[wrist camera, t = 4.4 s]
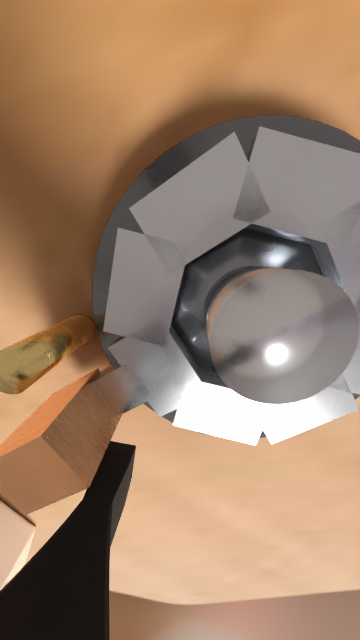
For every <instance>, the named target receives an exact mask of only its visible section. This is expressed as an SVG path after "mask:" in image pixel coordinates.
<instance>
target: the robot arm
mask: <svg viewBox="0 0 360 640" xmlns="http://www.w3.org/2000/svg"><path fill="white" fill-rule="evenodd" d="M135 449H136V446H134V445H129V444H122V443H118V442H113V441H110V442H109V444H108V447H107V449H106V451H105V453H104V456H103V458H102V460H101V462H100V465H99V467H98V469H97V471H96V474H95V476H94V478H93V480H92V483H91V485H90V487H89V488H87V490H86V493H85V495H84V498H83V500H82V501H81V502H80V503H79V505H78V506H77V507H76V508H75V510H74V511H73V512H72V513H71V515H70V516H69V517H68V518H67V519H66V521H65V522H64V523H63V524H62V525H61V526H60V528H59V529H58V530H57V531H56V532H55V533H54V534H53V536H52V537H51V538H50V539H49V540H48V541H47V542H46V543H45V544H44V546H43V547H42V548H41V549H40V550H39V551H38V552H37V553H36V554H35V555H34V556H33V557H32V558H31V560H30V561H29V562H28V563H27V564H26V565H25V566H24V567H23V568H22V569H21V570H20V571H19V572H18V573H17V574H16V575H15V576H14V577H13V578H12V579H11V580H10V581H9V582H8V583H7V584H6V585H5V586H4V587H3V588H2V590H0V640H109V560H110V546H111V544H112V541H113V538H114V535H115V532H116V529H117V526H118V523H119V520H120V517H121V514H122V511H123V508H124V505H125V501H126V497H127V493H128V490H129V486H130V482H131V478H132V471H133V463H134V456H135Z"/></svg>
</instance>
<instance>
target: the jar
mask: <svg viewBox="0 0 360 640" xmlns="http://www.w3.org/2000/svg"><path fill="white" fill-rule="evenodd" d="M34 533H35V526H33V525H32V524H31V523H29V522H28V521H27V520H26V519H24V518H23V517H22V516H20V515H19V514H18V513H16V512H15V511H14V510H12V509H11V508H10V507H9V506H7V505H6V504H5V503H3V502H2V501H1V500H0V590H2V588H3V587H4V586H5V585H6V584H7V583H8V582H9V581H10V580H11V579H12V578H13V577H14V576H15V575H16V574H17V573H18V572H19V571H20V570H21V568H22V567H23V565H24V563H25V561H26V559H27V556H28V553H29V549H30V546H31V543H32V540H33V536H34Z"/></svg>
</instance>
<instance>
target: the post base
mask: <svg viewBox="0 0 360 640" xmlns="http://www.w3.org/2000/svg"><path fill="white" fill-rule="evenodd" d="M259 126H260V127H264V128H268V129H271V130H275V131H279V132H282V133H286V134H290V135H294V136H297V137H301V138H305V139H308V140H312V141H316V142H319V143H323V144H327V145H330V146H334V147H338V148H341V149H345V150H349V151H352V152H356V153H360V141H359V140H358V139H356V138H354V137H353V136H351V135H349V134H348V133H346V132H344V131H342V130H340V129H337V128H334V127H332V126H329V125H327V124H324V123H321V122H318V121H313V120H308V119H303V118H299V117H294V116H268V115H265V116H257V117H249V118H241V119H236V120H233V121H229V122H226V123H222V124H219V125H215V126H212V127H210V128H208V129H205V130H203V131H201V132H199V133H197V134H194V135H192V136H190V137H188V138H186V139H185V140H183V141H182V142H180V143H178V144H177V145H175V146H174V147H172V148H171V149H169V150H167V151H166V152H165V153H163V154H162V155H161V156H160V157H159V158H158V159H156V160H155V161H154V162H153V163H152V164H151V165H149V166H148V167H147V168H146V169H145V170H144V171H143V172H142V173H141V174H140V176H139V177H138V178H137V179H136V180H135V181H134V182H133V183H132V185H131V186H130V187H129V188H128V190H127V191H126V193H125V194H124V196H123V197H122V199H121V200H120V202H119V203H118V204H117V206H116V207H115V209H114V211H113V213H112V215H111V218H110V220H109V222H108V224H107V226H106V228H105V230H104V233H103V236H102V239H101V242H100V245H99V248H98V251H97V256H96V261H95V266H94V272H93V287H92V296H93V311H94V317H95V322H96V327H97V331H98V334H99V337H100V340H101V343H102V346H103V349H104V351H105V353H106V355H107V357H108V359H109V361H110V363H111V365H113V364H115V363H117V362H118V361H117V360H116V359H115V357H114V356H113V355H112V353H111V352H110V351H109V349H108V347H109V346H110V345H111V344H112V343H113V342H114V341H115V339H117V338H118V337H120V335H116V334H112V333H108V332H104V331H103V328H104V321H105V314H106V307H107V300H108V293H109V286H110V279H111V272H112V265H113V258H114V251H115V244H116V237H117V230H118V228H121V229H125V230H129V231H133V232H137V233H141V234H144V233H143V231H142V229H141V228H140V226H139V224H138V223H137V221H136V219H135V218H134V216H133V214H132V213H131V211H130V209H129V208H130V207H132V206H133V205H134V204H136V203H137V202H138V201H140V200H141V199H143V198H144V197H145V196H147V195H148V194H149V193H151V192H152V191H154V190H155V189H156V188H158V187H159V186H160V185H162V184H163V183H165V182H166V181H167V180H169V179H170V178H171V177H173V176H174V175H176V174H177V173H178V172H180V171H181V170H182V169H184V168H185V167H186V166H188V165H189V164H191V163H192V162H193V161H195V160H196V159H197V158H199V157H200V156H202V155H203V154H204V153H206V152H207V151H208V150H210V149H211V148H213V147H214V146H215V145H217V144H218V143H219V142H221V141H222V140H224V139H225V138H226V137H228V136H229V135H230V134H232V133H233V132H235V133H236V136H237V138H238V140H239V142H240V145H241V147H242V149H243V151H244V154H245V156H246V157H247V154H248V150H249V147H250V144H251V142H252V140H253V138H254V136H255V134H256V132H257V130H258V128H259ZM171 325H172V326H173V328H174V330H175V331H176V333H177V334H178V336H179V337H180V339H181V340H182V342H183V344H184V345H185V347H186V348H187V350H188V351H189V353H190V354H191V356H192V358H193V359H194V361H195V362H196V364H197V365H198V367H199V369H200V370H203V371H207V372H211V373H215V374H218V375H219V377H220V378H221V379H222V381H223V382H224V383H225V384H226V385H227V386H228V387H229V388H230V389H231V390H233V391H234V392H235V393H237V394H239V395H240V396H242V397H244V398H246V399H249V400H252V401H255V402H259V403H264V404H287V403H293V402H297V401H301V400H304V399H307V398H309V397H311V396H314V395H316V394H318V393H319V392H321V391H323V390H324V389H326V388H327V387H328V386H330V385H331V384H332V383H333V382H334V381H335V380H336V379H337V378H339V376H340V375H341V374H342V373H343V372H344V370H345V369H346V368H347V366H348V365H349V363H350V361H351V359H352V357H353V355H354V353H355V350H356V347H357V343H358V337H359V322H358V316H357V313H356V309H355V307H354V305H353V303H352V301H351V299H350V298H349V296H348V295H347V294H346V292H345V291H344V290H343V289H342V288H341V287H340V286H338V285H337V284H336V283H334V282H333V281H332V280H330V279H328V278H326V277H324V276H323V274H322V271H321V269H320V266H319V264H318V262H317V259H316V257H315V255H314V252H313V250H312V247H311V245H309V244H305V243H302V242H298V241H294V240H290V239H286V238H282V237H279V236H275V235H271V234H267V233H263V232H259V231H256V230H252V229H248V228H244V229H242V230H240V231H239V232H237V233H236V234H234V235H232V236H231V237H229V238H228V239H226V240H224V241H223V242H221V243H219V244H218V245H216V246H215V247H213V248H211V249H210V250H208V251H207V252H205V253H203V254H202V255H200V256H199V257H197V258H195V259H194V260H192V261H191V262H189V263H187V264H186V265H185V269H184V273H183V277H182V281H181V285H180V289H179V293H178V298H177V302H176V306H175V310H174V314H173V318H172V322H171ZM352 395H353V397H354V399H356V398H358V397H359V396H360V395H359V394H355V393H352ZM144 404H145V405H146V406H147V407H149V408H150V409H152V410H153V408H152V407H151V406H150V404H149V403H148V402H145V403H144ZM153 411H154V410H153ZM154 412H155V411H154ZM173 416H174V411H172V412H169V413H167V414H165V415H163V416H162V417H164V418H166V419H167V420H169V421H171V422H173ZM196 432H197V431H196ZM199 433H202V432H199ZM202 434H206V433H202ZM207 435H210V434H207ZM212 436H214V435H212ZM217 437H218V436H217ZM262 437H267V436H266V434H265V432H264V431H263V430H262V432H261V434H260V436H259V438H262Z"/></svg>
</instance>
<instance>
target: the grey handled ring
mask: <svg viewBox="0 0 360 640" xmlns="http://www.w3.org/2000/svg"><path fill="white" fill-rule="evenodd" d="M129 209H130V211H131V213H132V214H133V216H134V218H135V219H136V221H137V223H138V224H139V226H140V228H141V229H142V231H143V233H144V234H141V233H137V232H133V231H129V230H125V229H121V228H118V230H117V237H116V244H115V251H114V258H113V265H112V272H111V279H110V286H109V293H108V300H107V307H106V314H105V321H104V328H103V331H104V332H108V333H112V334H116V335H120V337H118V338H117V339H115V341H114V342H113V343H112V344H111V345H110V346H109V347H108V349H109V351H110V352H111V353H112V355H113V356H114V357H115V359H116V360H117V361H118V362H117V363H115V364H113V365H111V366H110V367H108V368H106V369H104V370H102V371H101V372H100V371H99V369H96V370H94V371H92V372H91V373H89V374H87V375H85V376H84V377H82V378H80V379H78V380H77V381H75V382H73V383H71V384H70V385H68V386H66V387H64V388H62V389H61V390H59V391H57V392H55V393H54V394H52V395H51V396H50V397H49V398H48V399H47V400H46V401H45V402H44V403H43V404H42V405H41V406H40V407H39V408H38V409H37V410H36V411H35V412H34V413H33V414H32V415H31V416H30V417H29V418H28V419H27V420H26V421H25V422H23V423H22V424H21V425H20V426H19V427H18V428H17V429H16V430H15V431H14V432H13V433H12V434H11V435H10V436H9V437H8V438H7V439H6V440H5V441H4V442H3V443H2V444H1V445H0V494H1V495H2V496H3V497H4V498H6V499H7V500H8V501H9V502H10V503H11V504H12V505H13V506H14V507H16V508H17V509H18V510H19V511H20V512H21V513H22V514H23V515H26V514H29V513H31V512H33V511H36V510H38V509H40V508H43V507H45V506H47V505H50V504H52V503H54V502H57V501H59V500H61V499H64V498H66V497H68V496H71V495H73V494H75V493H78V492H80V491H82V490H85V489H87V488H89V487H90V485H91V483H92V480H93V478H94V476H95V474H96V471H97V469H98V467H99V465H100V462H101V460H102V458H103V456H104V453H105V451H106V449H107V447H108V444H109V442H110V440H111V438H112V435H113V433H114V431H115V429H116V426H117V424H118V422H119V420H120V417H121V415H122V413H125V412H127V411H129V410H131V409H133V408H135V407H137V406H139V405H141V404H143V403H145V402H148V403H149V404H150V406H151V407H152V408H153V410H154V411H155V412H156V414H157V415H158V416H159V417H161V416H163V415H165V414H167V413H169V412H172V411H174V416H173V425H172V426H176V427H181V428H185V429H189V430H193V431H197V432H202V433H206V434H210V435H214V436H218V437H222V438H227V439H231V440H235V441H239V442H243V443H248V444H252V445H256V443H257V441H258V438H259V436H260V434H261V432H262V430H263V431H264V432H265V434H266V436H267V437H268V439H269V441H270V442H271V444H273V443H276V442H278V441H281V440H283V439H286V438H289V437H291V436H294V435H296V434H299V433H301V432H304V431H306V430H309V429H311V428H314V427H316V426H319V425H322V424H324V423H327V422H329V421H332V420H334V419H337V418H339V417H342V416H344V415H347V414H349V413H352V412H354V411H357V410H359V408H358V406H357V404H356V401H355V399H354V397H353V395H352V393H355V394H359V395H360V153H356V152H352V151H349V150H345V149H341V148H338V147H334V146H330V145H327V144H323V143H319V142H316V141H312V140H308V139H305V138H301V137H297V136H294V135H290V134H286V133H282V132H279V131H275V130H271V129H268V128H264V127H260V126H259V128H258V130H257V132H256V134H255V136H254V138H253V140H252V142H251V144H250V147H249V150H248V154H247V157H246V156H245V154H244V151H243V149H242V147H241V145H240V142H239V140H238V138H237V136H236V133H235V132H233V133H232V134H230V135H229V136H228V137H226V138H225V139H224V140H222V141H221V142H219V143H218V144H217V145H215V146H214V147H213V148H211V149H210V150H208V151H207V152H206V153H204V154H203V155H202V156H200V157H199V158H197V159H196V160H195V161H193V162H192V163H191V164H189V165H188V166H186V167H185V168H184V169H182V170H181V171H180V172H178V173H177V174H176V175H174V176H173V177H171V178H170V179H169V180H167V181H166V182H165V183H163V184H162V185H160V186H159V187H158V188H156V189H155V190H154V191H152V192H151V193H149V194H148V195H147V196H145V197H144V198H143V199H141V200H140V201H138V202H137V203H136V204H134V205H133V206H132V207H130V208H129ZM244 228H248V229H252V230H256V231H259V232H263V233H267V234H271V235H275V236H279V237H282V238H286V239H290V240H294V241H298V242H302V243H305V244H309V245H311V247H312V250H313V252H314V255H315V257H316V259H317V262H318V264H319V266H320V269H321V271H322V274H323V276H324V277H326V278H328V279H330V280H332V281H333V282H334V283H336V284H337V285H338V286H340V287H341V288H342V289H343V290H344V291H345V292H346V294H347V295H348V296H349V298H350V299H351V301H352V303H353V305H354V307H355V309H356V313H357V316H358V322H359V337H358V343H357V347H356V350H355V353H354V355H353V357H352V359H351V361H350V363H349V365H348V366H347V368H346V369H345V370H344V372H343V373H342V374H341V375H340V376H339V378H337V379H336V380H335V381H334V382H333V383H332V384H331V385H330V386H328V387H327V388H326V389H324V390H323V391H321V392H319V393H318V394H316V395H314V396H311V397H309V398H307V399H304V400H301V401H297V402H293V403H287V404H264V403H259V402H255V401H252V400H249V399H246V398H244V397H242V396H240V395H239V394H237V393H235V392H234V391H233V390H231V389H230V388H229V387H228V386H227V385H226V384H225V383H224V382H223V381H222V379H221V378H220V377H219V375H218V374H215V373H211V372H207V371H203V370H200V369H199V367H198V365H197V364H196V362H195V361H194V359H193V358H192V356H191V354H190V353H189V351H188V350H187V348H186V347H185V345H184V344H183V342H182V340H181V339H180V337H179V336H178V334H177V333H176V331H175V330H174V328H173V326H172V325H171V322H172V318H173V314H174V310H175V306H176V302H177V298H178V293H179V289H180V285H181V281H182V277H183V273H184V269H185V265H186V264H187V263H189V262H191V261H192V260H194V259H195V258H197V257H199V256H200V255H202V254H203V253H205V252H207V251H208V250H210V249H211V248H213V247H215V246H216V245H218V244H219V243H221V242H223V241H224V240H226V239H228V238H229V237H231V236H232V235H234V234H236V233H237V232H239V231H240V230H242V229H244Z"/></svg>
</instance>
